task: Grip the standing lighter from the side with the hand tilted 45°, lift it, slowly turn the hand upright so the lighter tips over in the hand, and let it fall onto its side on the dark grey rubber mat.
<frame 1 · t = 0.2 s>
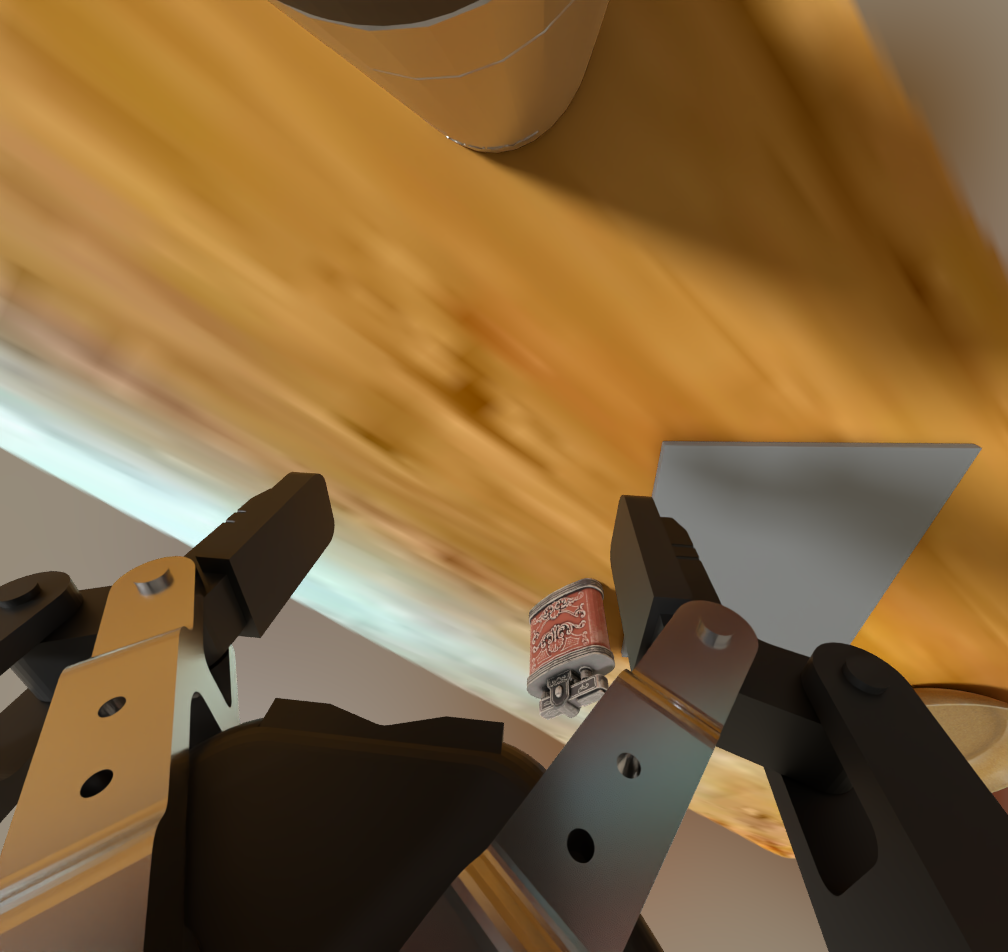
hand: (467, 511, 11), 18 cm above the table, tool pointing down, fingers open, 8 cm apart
plant saucer: (885, 731, 47), on the table
lighter: (564, 600, 39), on the table
mat: (760, 569, 35), on the table
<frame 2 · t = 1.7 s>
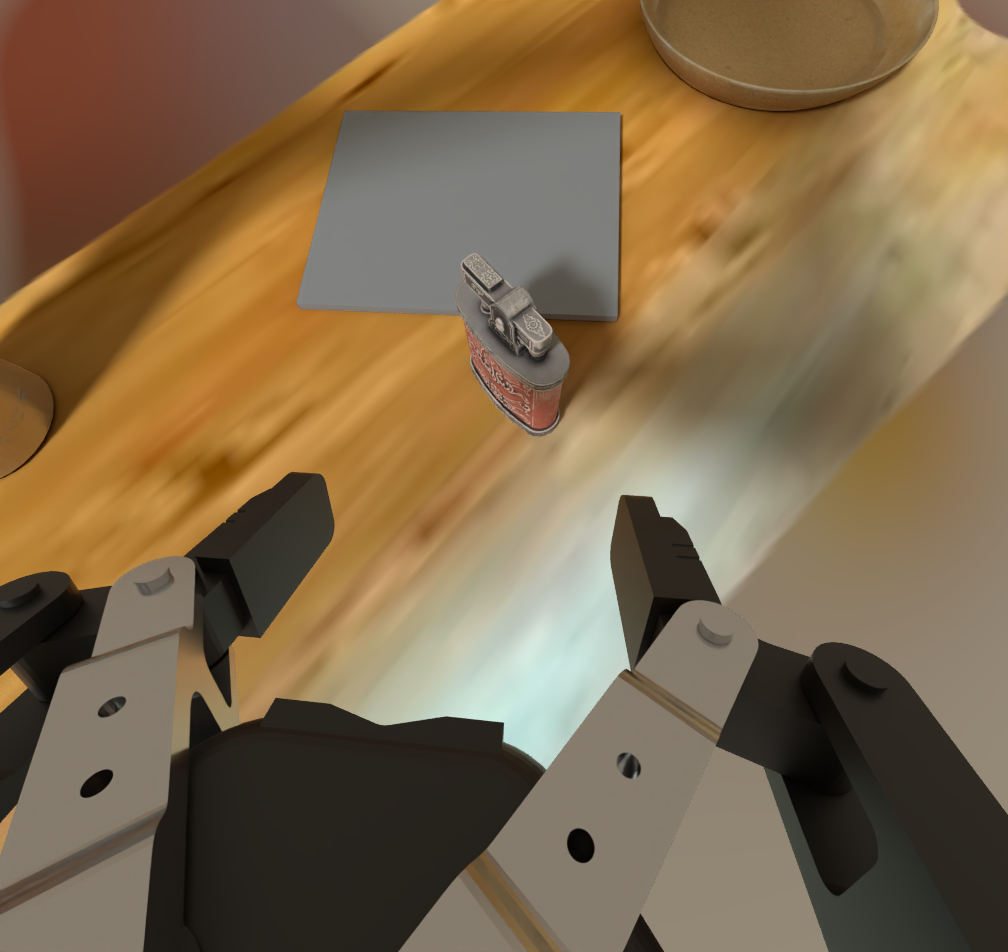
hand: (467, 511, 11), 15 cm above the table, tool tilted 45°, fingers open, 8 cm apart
plant saucer: (762, 38, 38), on the table
lighter: (514, 392, 29), on the table
mat: (467, 209, 34), on the table
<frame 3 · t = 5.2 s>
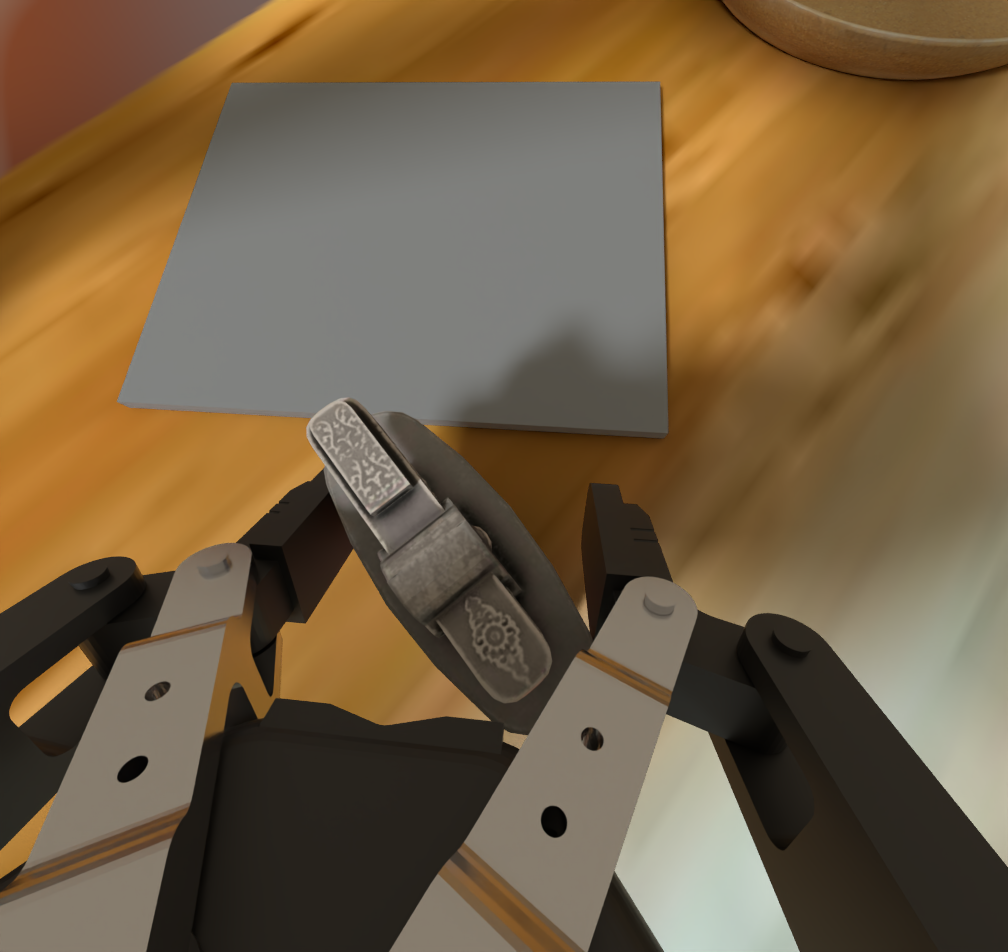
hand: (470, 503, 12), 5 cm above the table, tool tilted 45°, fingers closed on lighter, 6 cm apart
lighter: (484, 571, 16), on the table, touching gripper
mat: (415, 237, 21), on the table
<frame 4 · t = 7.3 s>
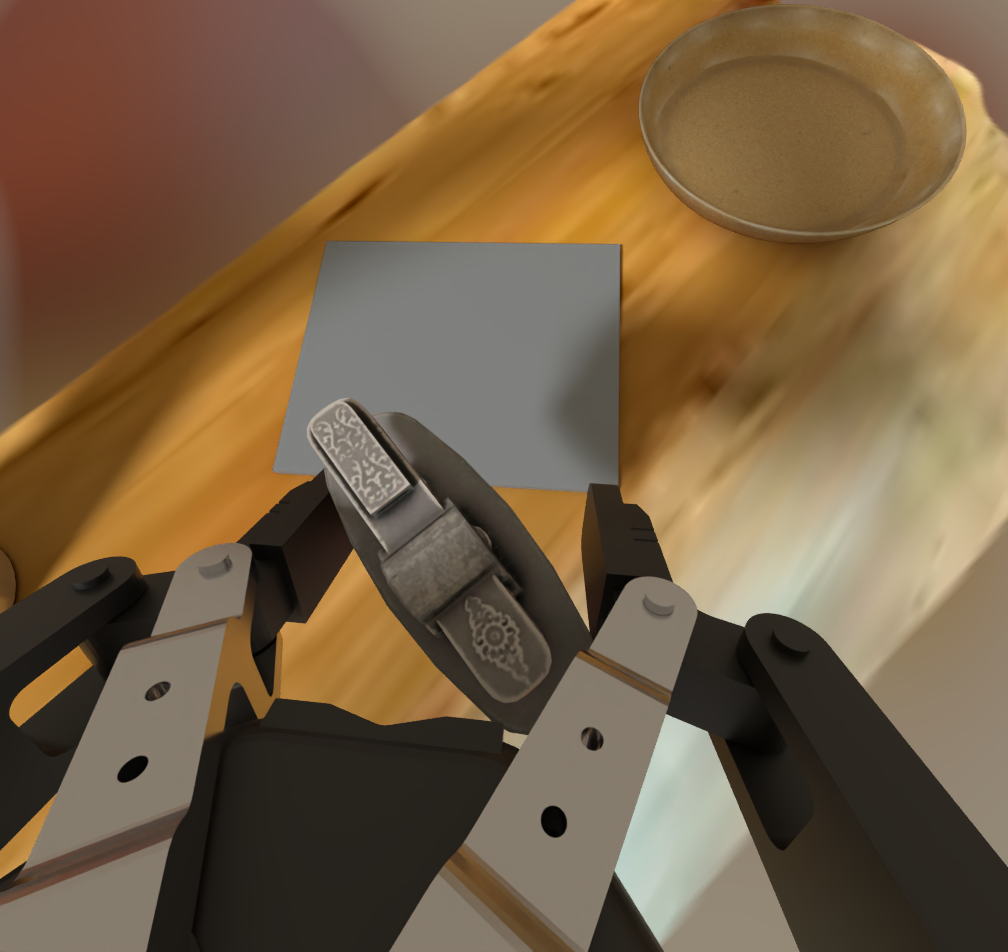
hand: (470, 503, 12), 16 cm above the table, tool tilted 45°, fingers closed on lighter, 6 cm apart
plant saucer: (772, 152, 35), on the table
lighter: (484, 571, 16), point 11 cm above the table, touching gripper
mat: (456, 356, 31), on the table
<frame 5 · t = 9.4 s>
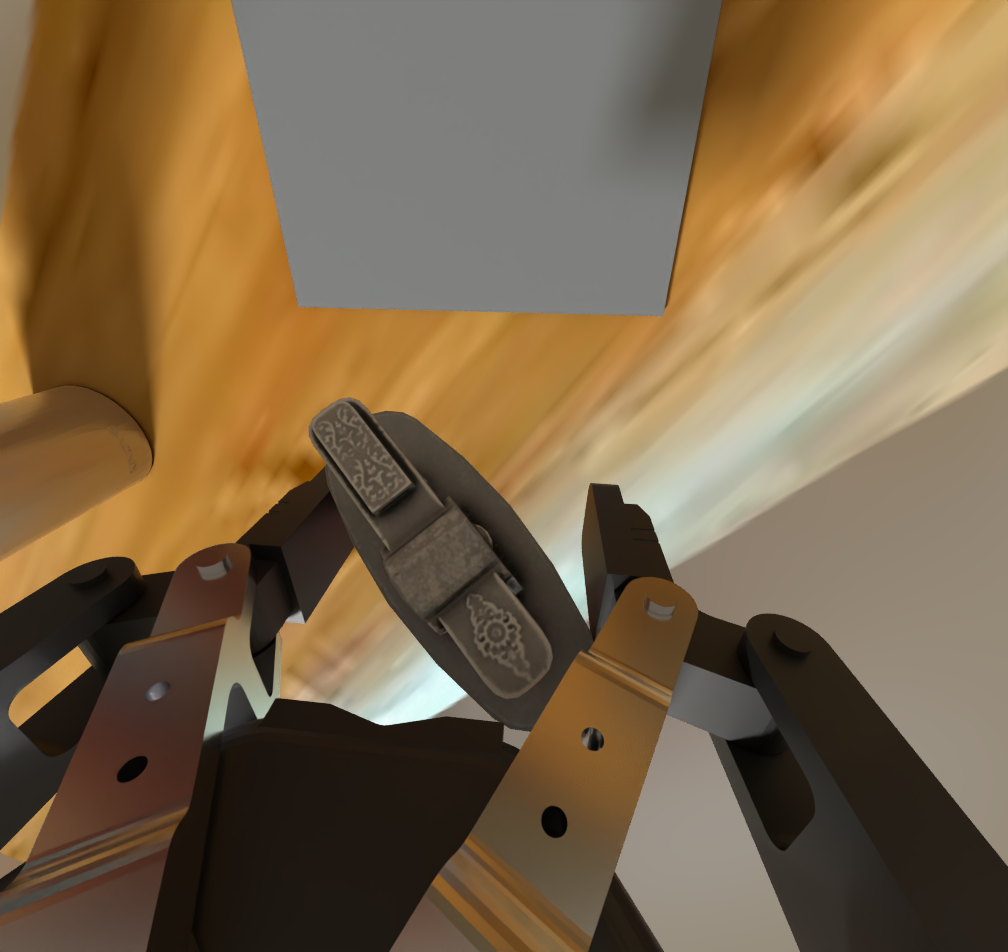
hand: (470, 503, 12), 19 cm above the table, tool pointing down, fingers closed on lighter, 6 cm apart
lighter: (483, 571, 16), point 17 cm above the table, touching gripper
mat: (470, 114, 23), on the table
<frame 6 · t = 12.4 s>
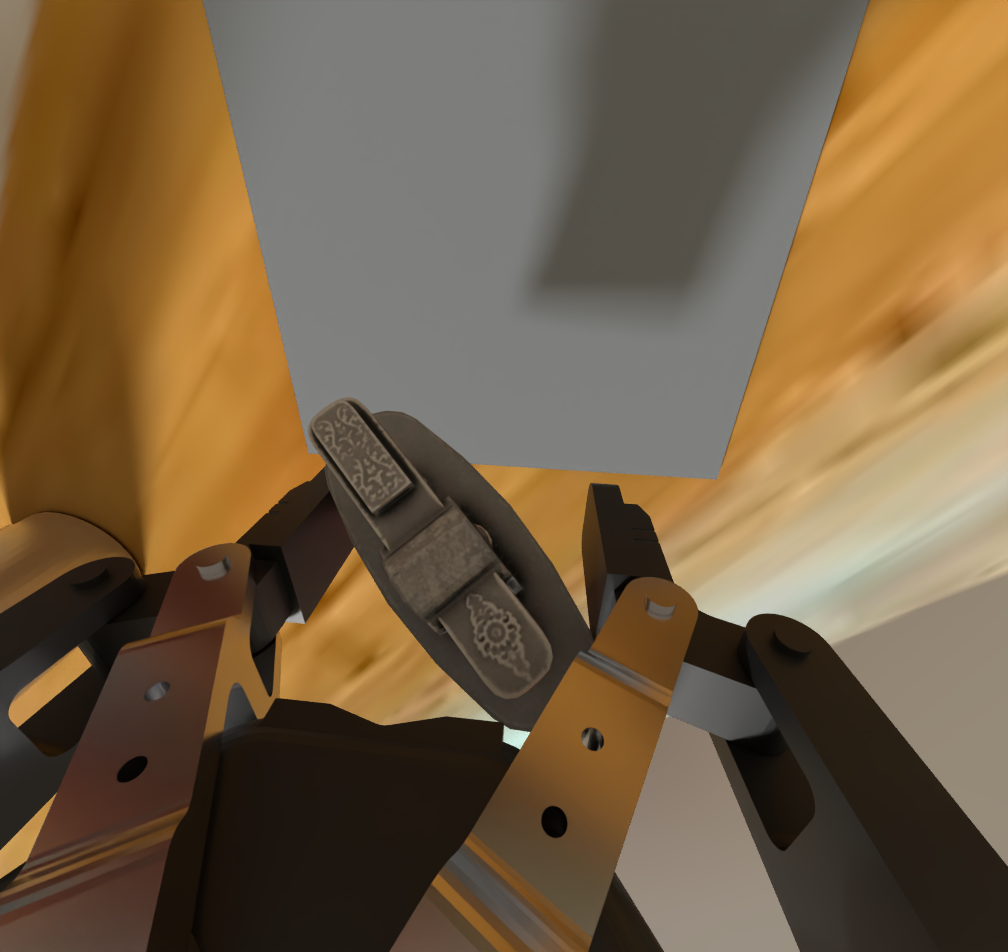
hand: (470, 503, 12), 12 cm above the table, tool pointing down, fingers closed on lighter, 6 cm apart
lighter: (483, 571, 16), point 10 cm above the table, touching gripper
mat: (511, 276, 20), on the table
when the fingers open (7 cm above the table, at t = 14.2 s): lighter drops 2 cm, resting on mat.
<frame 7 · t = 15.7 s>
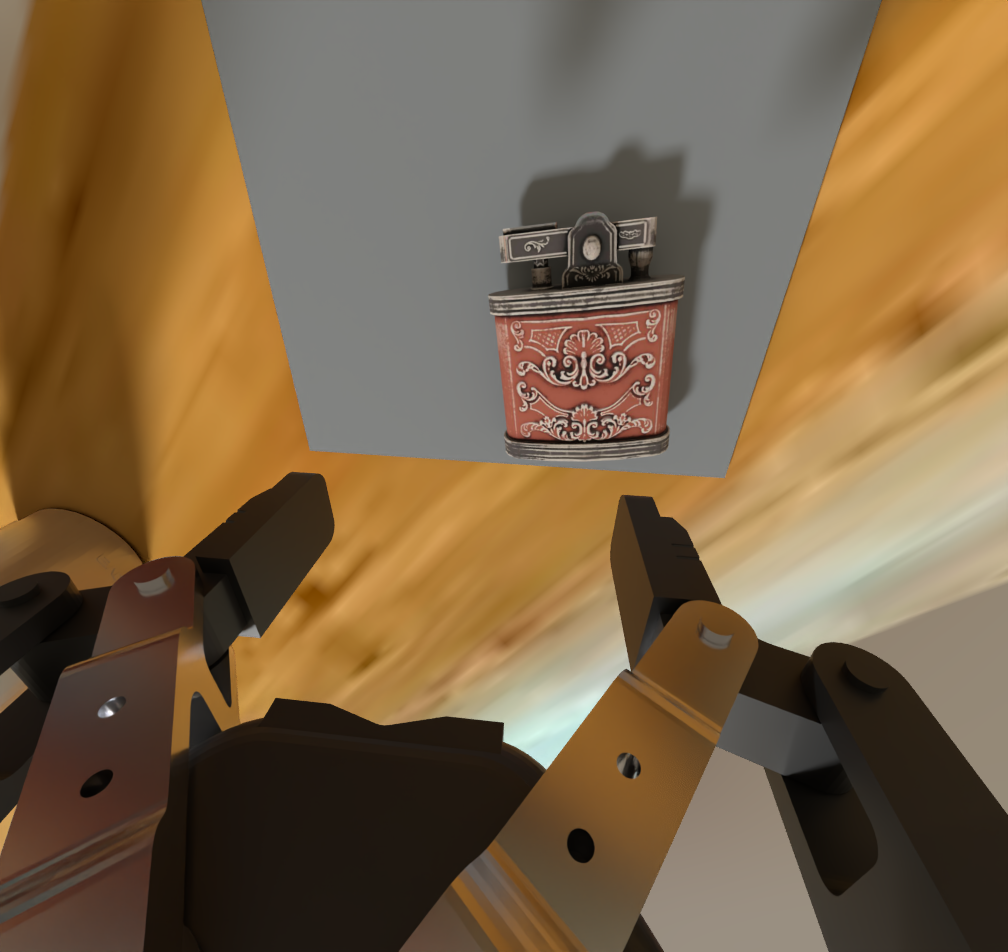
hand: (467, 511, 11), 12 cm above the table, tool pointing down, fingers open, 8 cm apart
lighter: (584, 449, 21), point 2 cm above the table, touching mat
mat: (514, 269, 19), on the table
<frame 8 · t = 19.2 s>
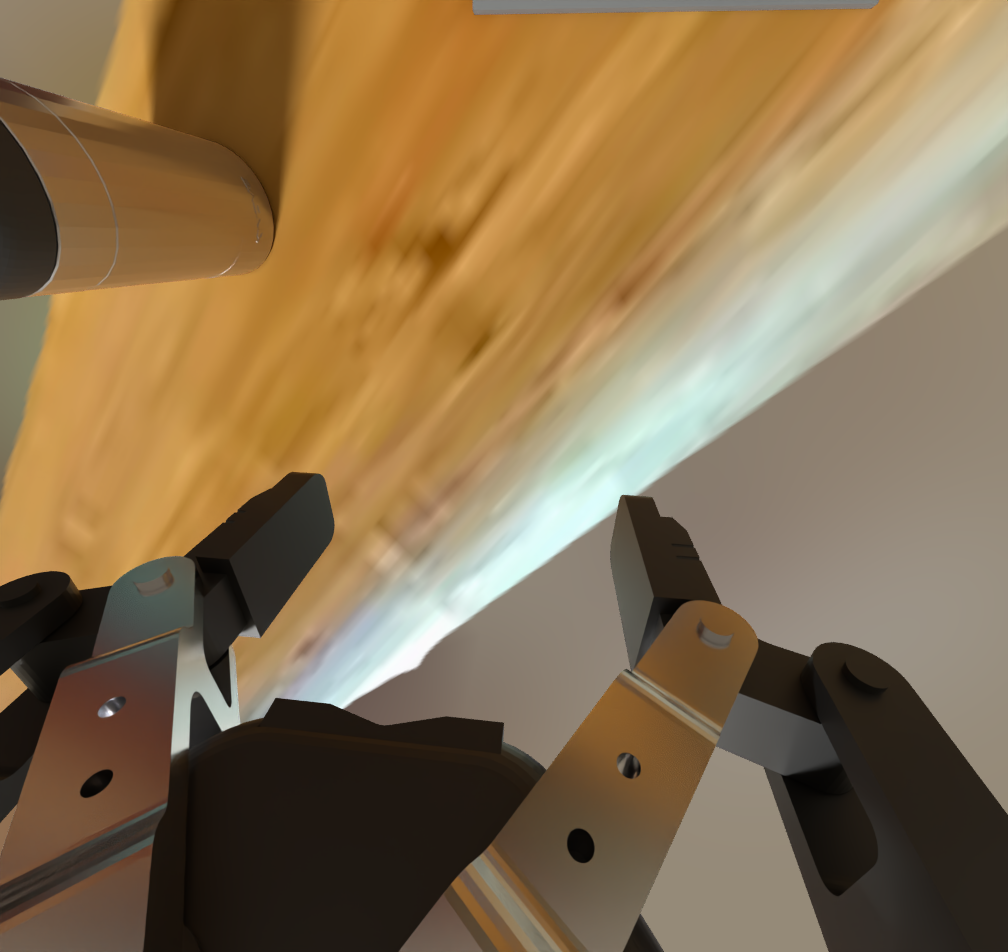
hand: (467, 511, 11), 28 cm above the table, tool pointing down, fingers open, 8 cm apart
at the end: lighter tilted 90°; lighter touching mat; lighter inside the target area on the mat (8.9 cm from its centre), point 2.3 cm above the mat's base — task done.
